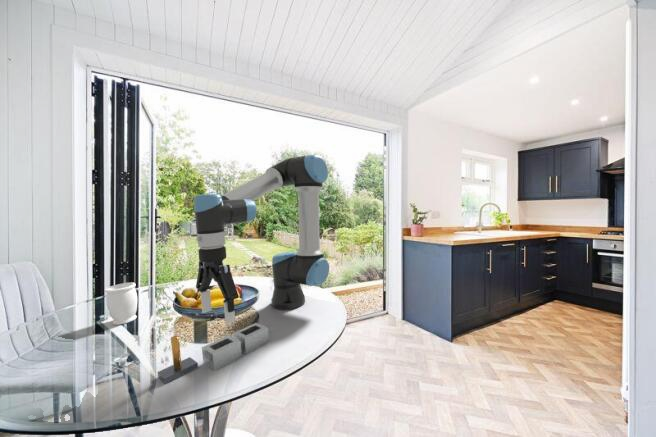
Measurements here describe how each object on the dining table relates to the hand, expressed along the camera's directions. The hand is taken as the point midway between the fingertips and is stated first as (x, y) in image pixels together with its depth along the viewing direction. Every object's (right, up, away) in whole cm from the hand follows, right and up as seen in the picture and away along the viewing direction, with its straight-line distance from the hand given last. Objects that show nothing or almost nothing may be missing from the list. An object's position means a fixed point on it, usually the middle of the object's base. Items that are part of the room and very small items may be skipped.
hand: (218, 316), depth 86 cm
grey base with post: (-10, -15, -4) cm, 18 cm away
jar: (-53, -14, +35) cm, 65 cm away
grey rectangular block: (+1, -14, +1) cm, 14 cm away
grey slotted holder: (+8, -12, +9) cm, 17 cm away
